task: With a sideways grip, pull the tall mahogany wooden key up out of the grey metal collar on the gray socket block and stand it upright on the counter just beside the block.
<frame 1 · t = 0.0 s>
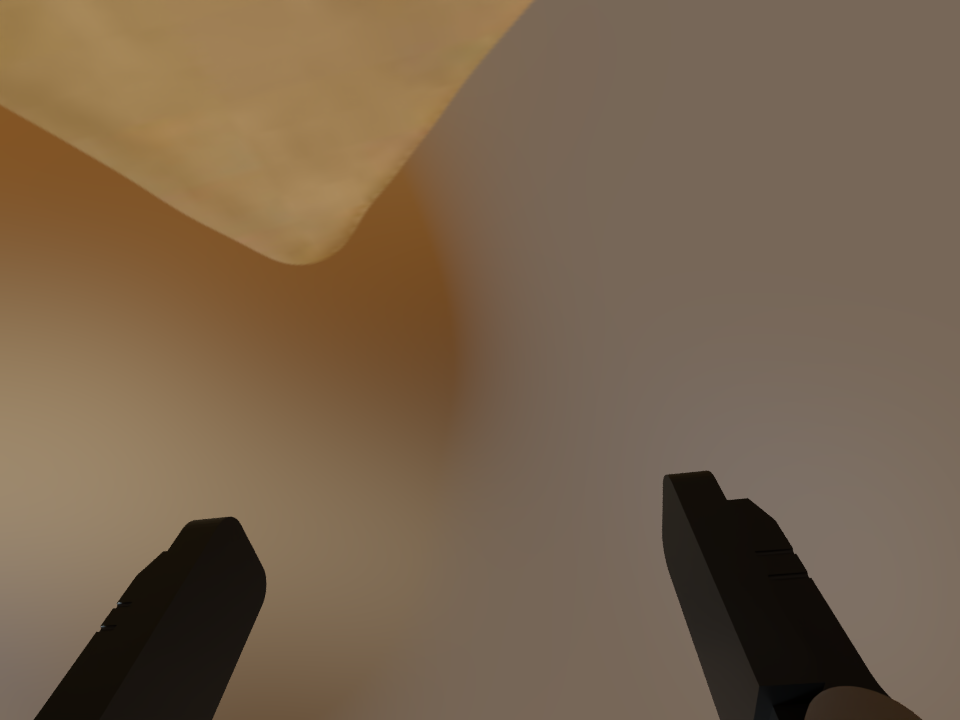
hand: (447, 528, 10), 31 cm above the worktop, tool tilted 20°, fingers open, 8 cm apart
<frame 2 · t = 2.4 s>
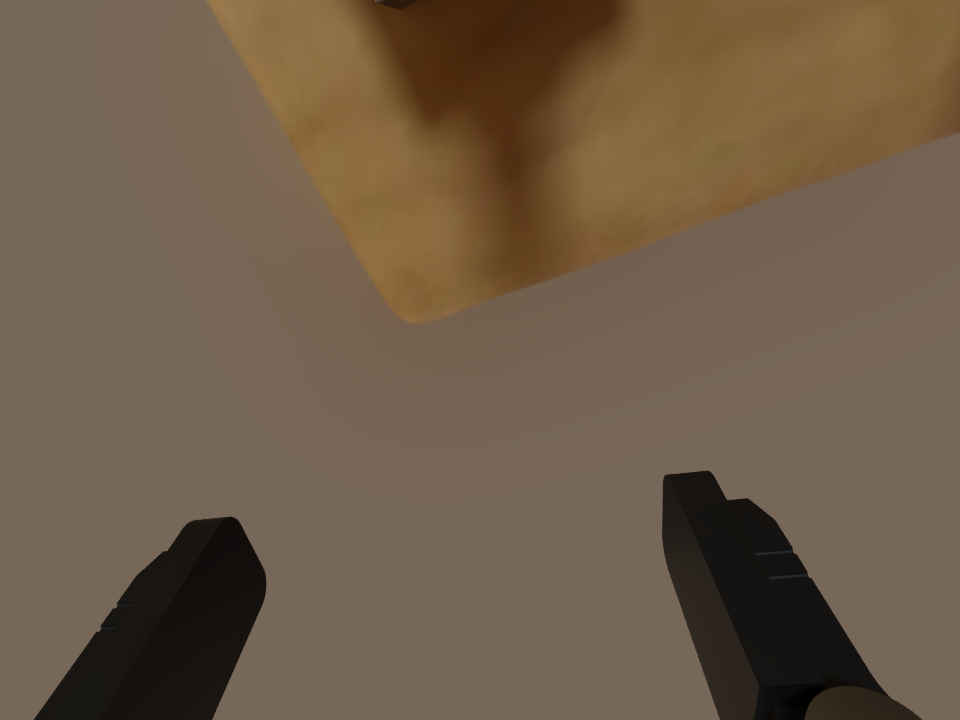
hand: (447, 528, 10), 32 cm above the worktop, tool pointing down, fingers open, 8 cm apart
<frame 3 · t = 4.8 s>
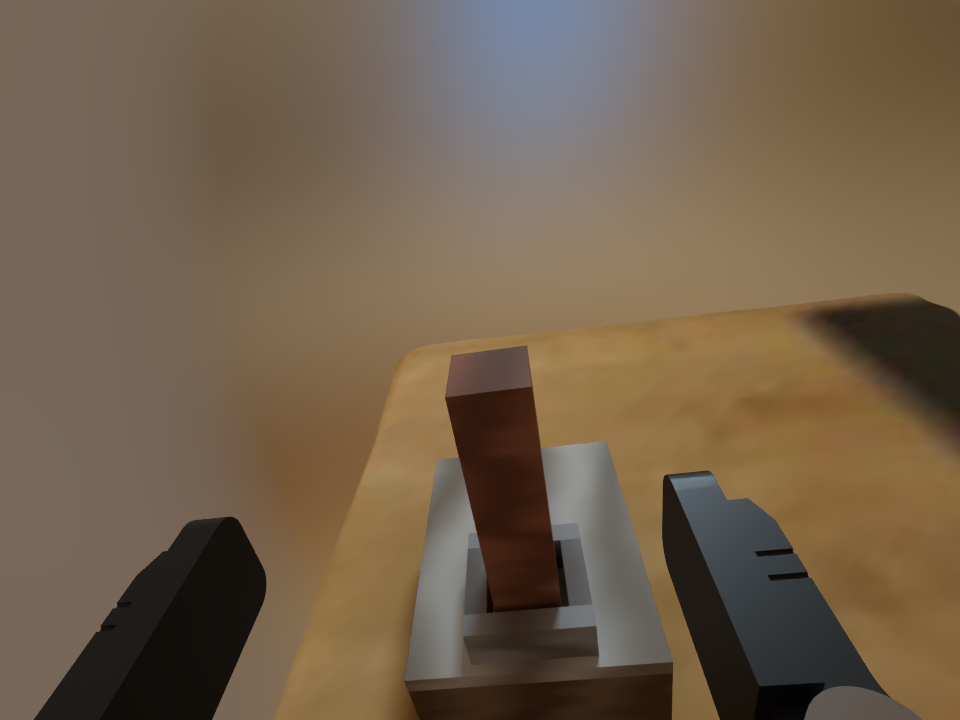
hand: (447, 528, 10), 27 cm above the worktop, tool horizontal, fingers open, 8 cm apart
wooden key: (530, 602, 31), point 7 cm above the worktop, touching gray socket block
gray socket block: (537, 603, 38), on the worktop
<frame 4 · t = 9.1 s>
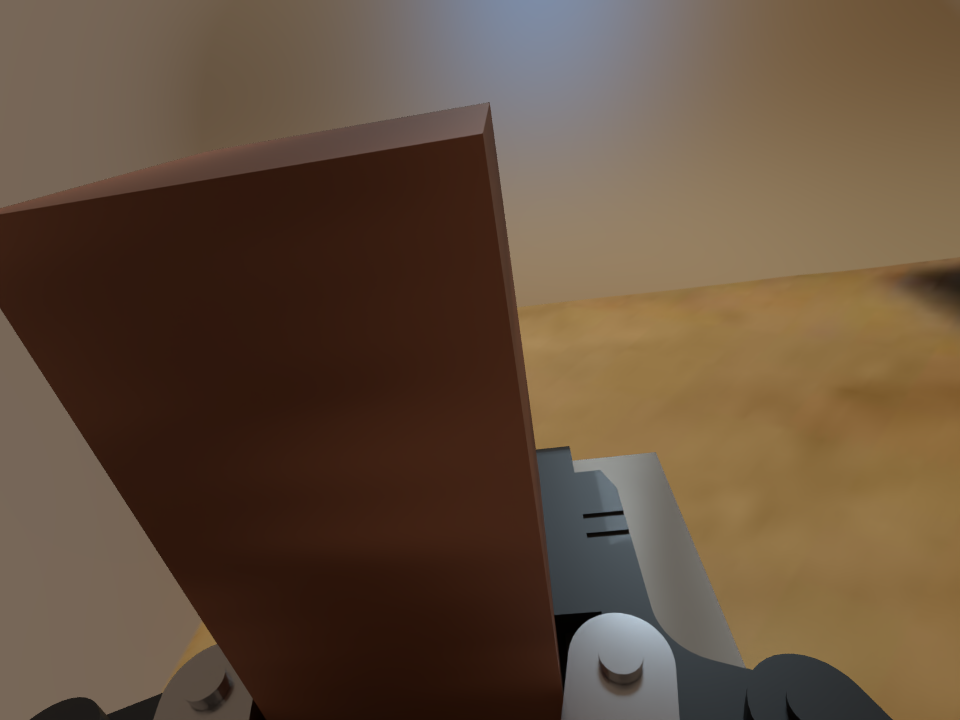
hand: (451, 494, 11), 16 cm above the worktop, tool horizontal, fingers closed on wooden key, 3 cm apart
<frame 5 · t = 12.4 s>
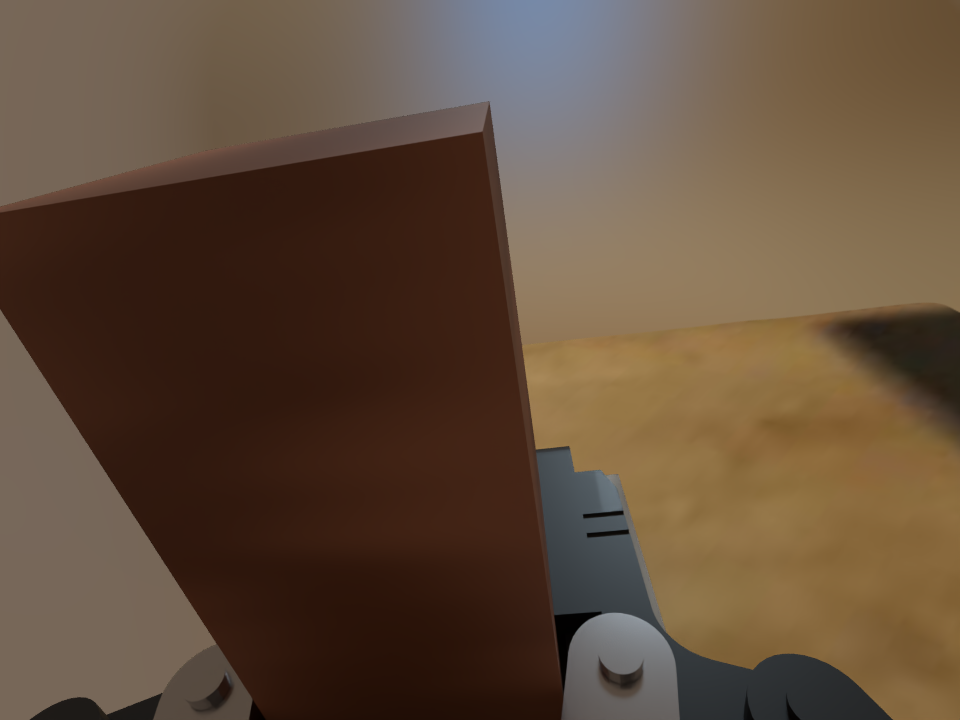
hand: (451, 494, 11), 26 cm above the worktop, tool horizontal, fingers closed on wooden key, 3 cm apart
gray socket block: (540, 661, 34), on the worktop
when the fingers open (10 cm above the worktop, at t = 15.9 s): wooden key drops 1 cm, on the worktop.
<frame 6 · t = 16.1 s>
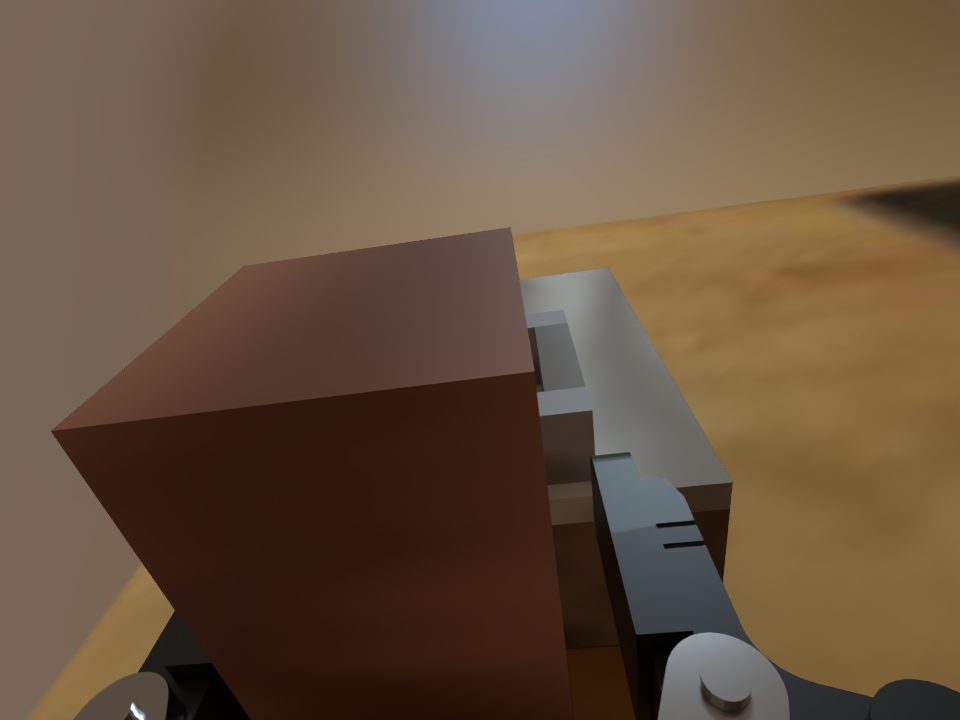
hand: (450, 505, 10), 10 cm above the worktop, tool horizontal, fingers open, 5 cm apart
gray socket block: (507, 478, 26), on the worktop
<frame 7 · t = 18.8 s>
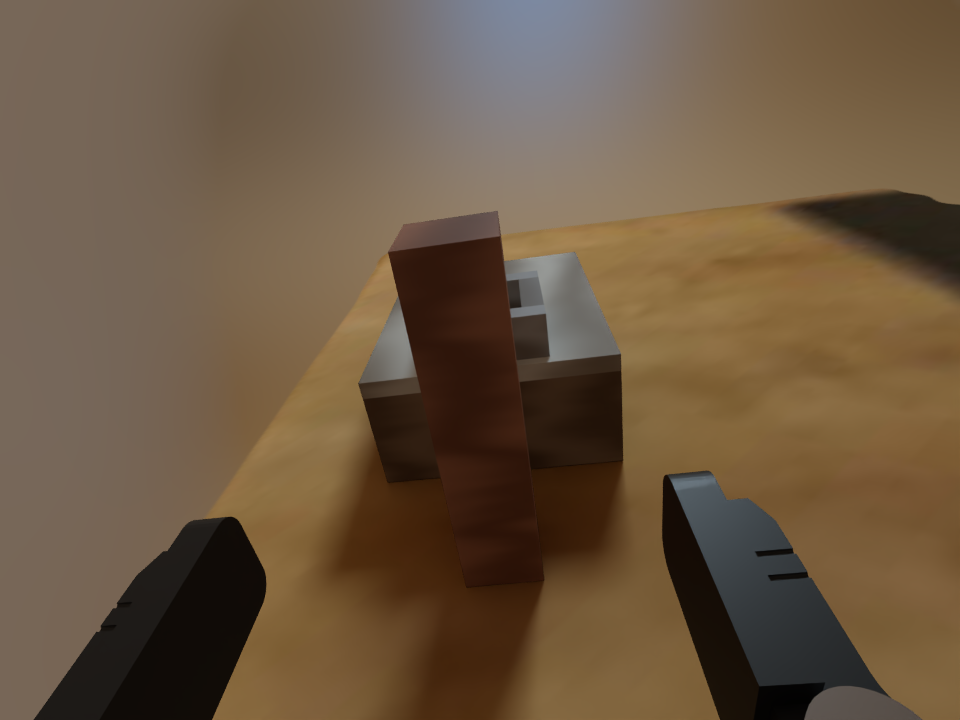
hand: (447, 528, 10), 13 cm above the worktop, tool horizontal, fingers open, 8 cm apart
wooden key: (503, 552, 26), on the worktop
gray socket block: (501, 391, 39), on the worktop
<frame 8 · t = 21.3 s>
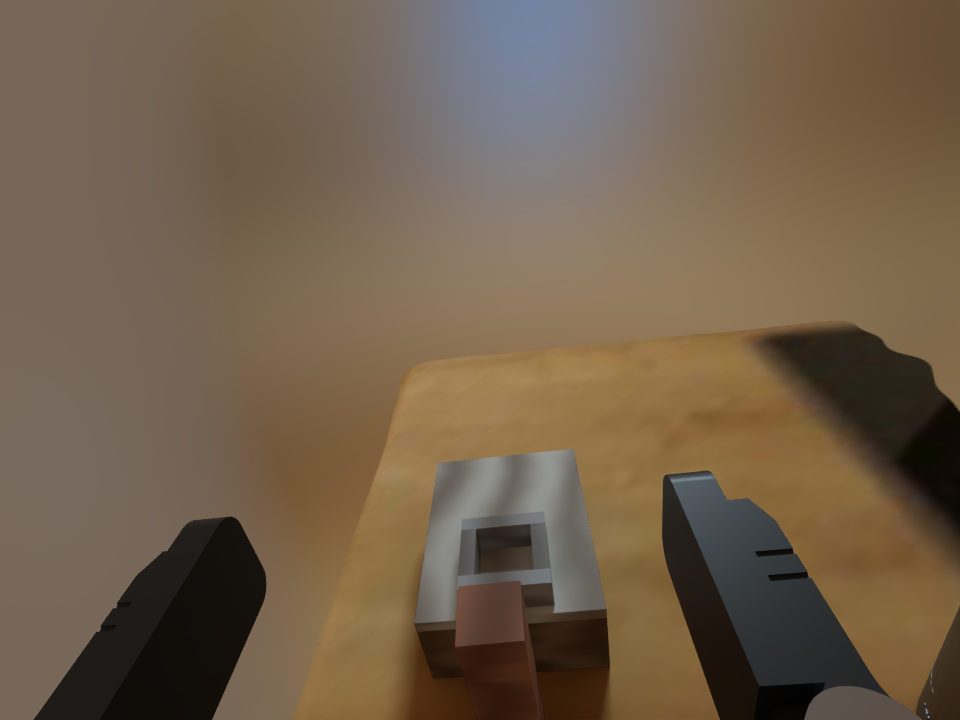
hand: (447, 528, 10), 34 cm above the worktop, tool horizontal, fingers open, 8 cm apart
gray socket block: (516, 576, 49), on the worktop
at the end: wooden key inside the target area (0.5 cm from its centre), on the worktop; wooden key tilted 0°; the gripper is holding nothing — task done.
